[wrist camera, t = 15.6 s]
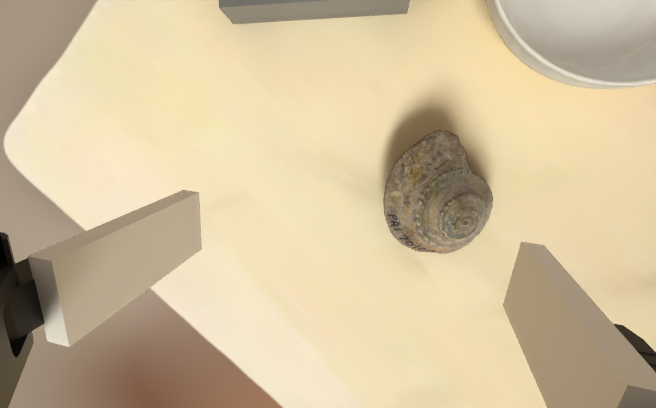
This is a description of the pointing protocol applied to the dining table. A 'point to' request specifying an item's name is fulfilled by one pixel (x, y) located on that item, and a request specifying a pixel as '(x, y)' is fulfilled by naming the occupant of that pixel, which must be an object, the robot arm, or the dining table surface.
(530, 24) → the serving bowl
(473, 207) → the fossilized seashell
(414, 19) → the dining table surface
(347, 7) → the parts tray
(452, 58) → the dining table surface
